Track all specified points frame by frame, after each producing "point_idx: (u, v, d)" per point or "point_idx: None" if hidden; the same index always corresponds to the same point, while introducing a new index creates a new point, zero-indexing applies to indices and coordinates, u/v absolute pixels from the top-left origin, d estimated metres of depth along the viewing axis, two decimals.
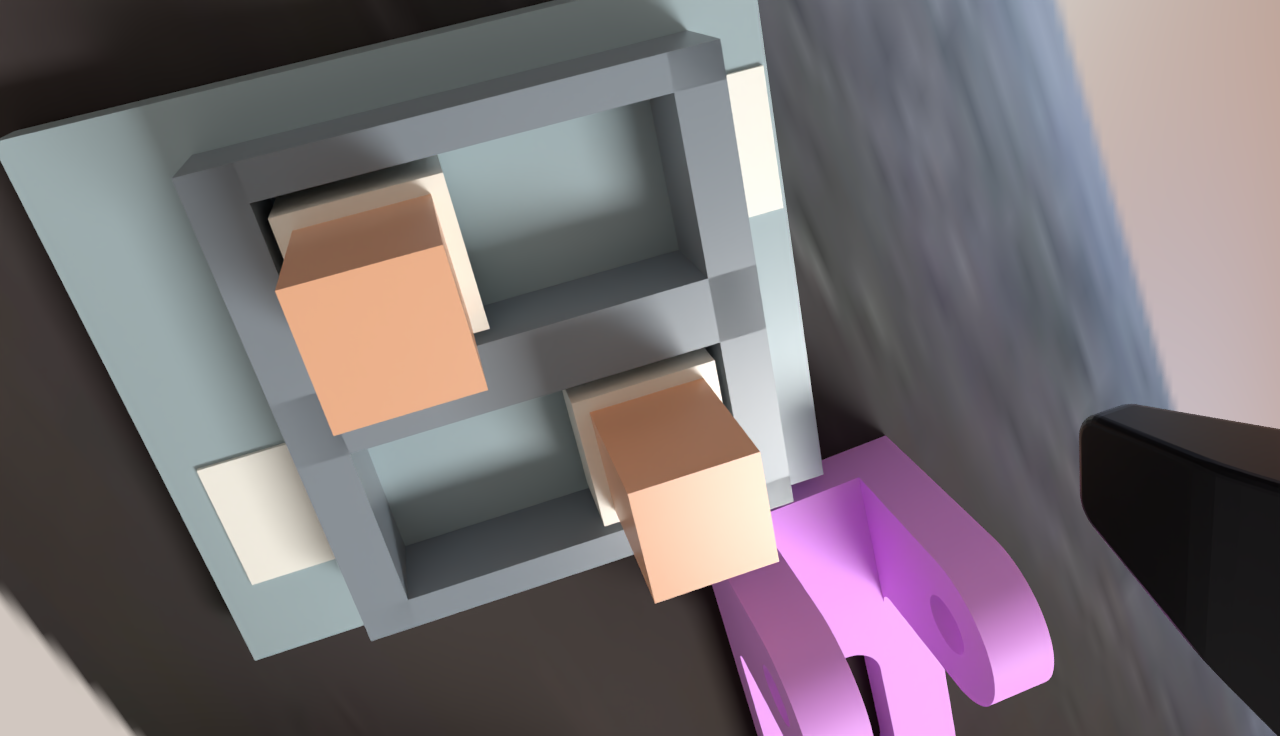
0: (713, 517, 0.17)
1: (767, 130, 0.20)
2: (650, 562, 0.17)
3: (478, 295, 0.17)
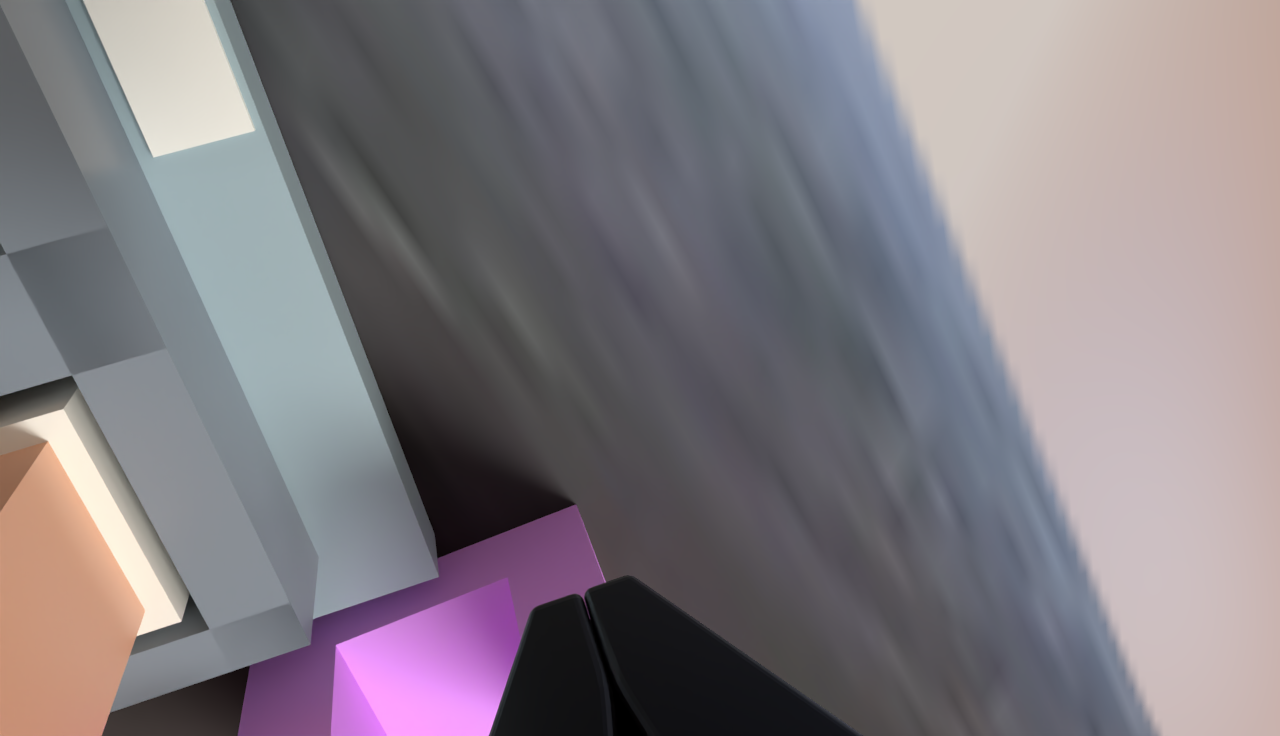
0: None
1: None
2: None
3: None
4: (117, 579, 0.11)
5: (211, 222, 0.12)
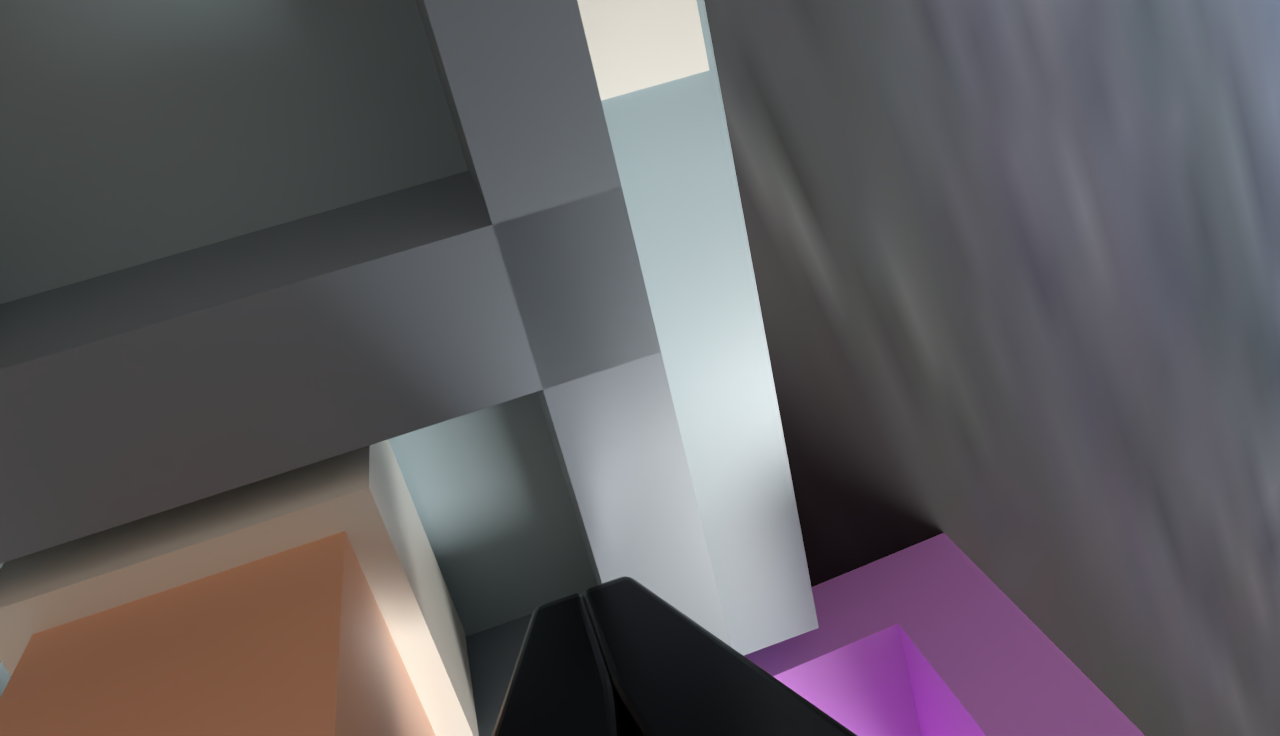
0: None
1: None
2: None
3: None
4: (418, 709, 0.08)
5: (636, 191, 0.09)
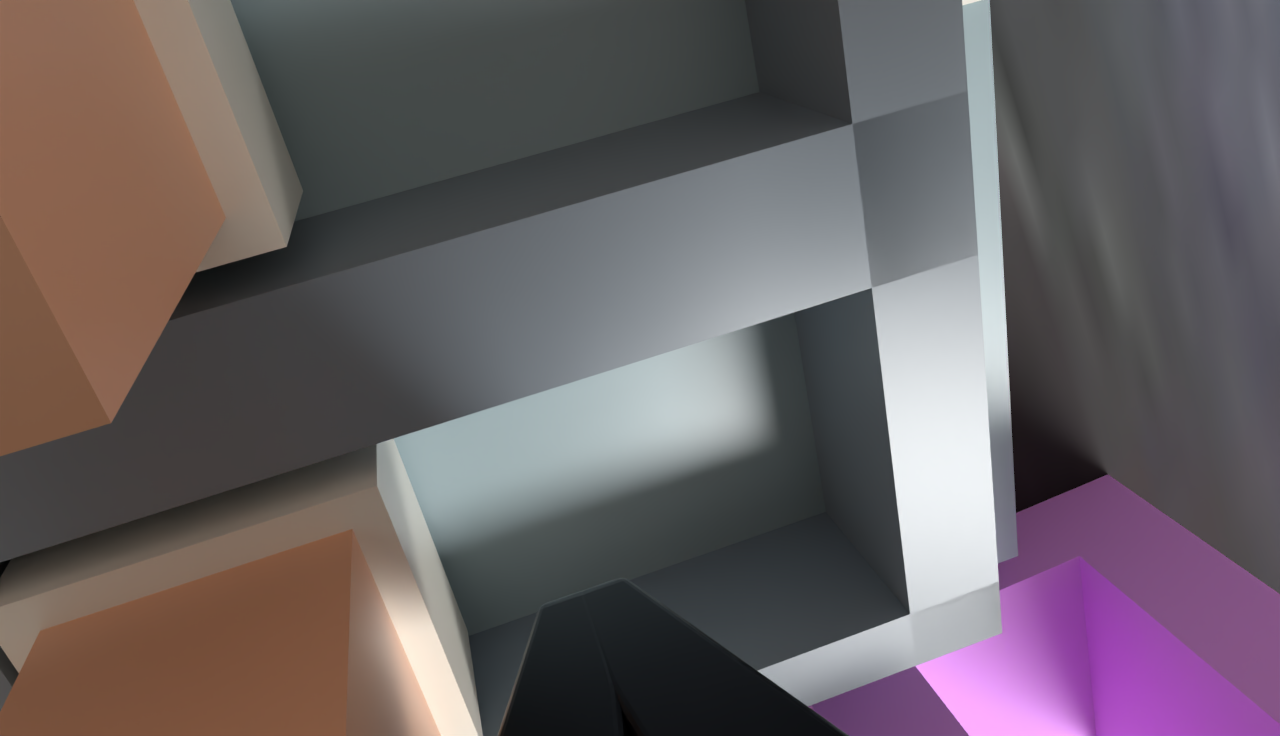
0: None
1: None
2: None
3: (243, 150, 0.06)
4: (423, 707, 0.08)
5: None
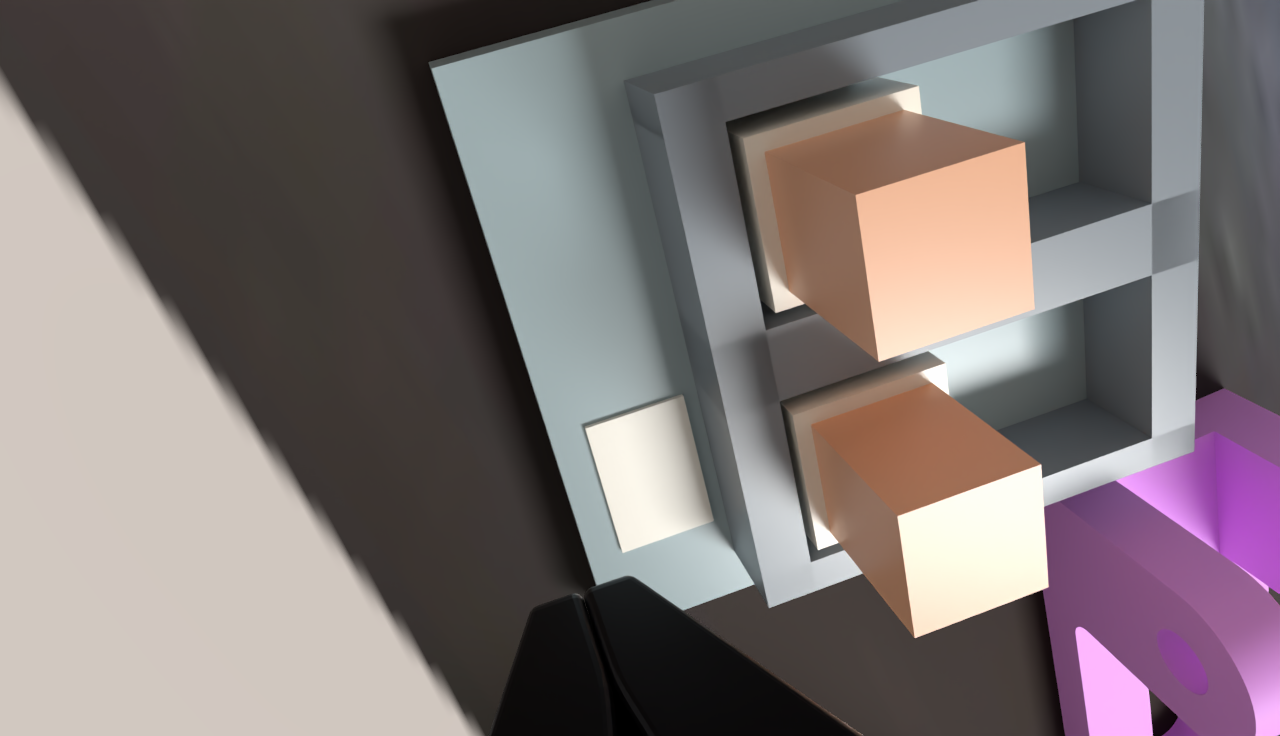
0: (984, 539, 0.15)
1: None
2: (913, 592, 0.15)
3: None
4: None
5: None
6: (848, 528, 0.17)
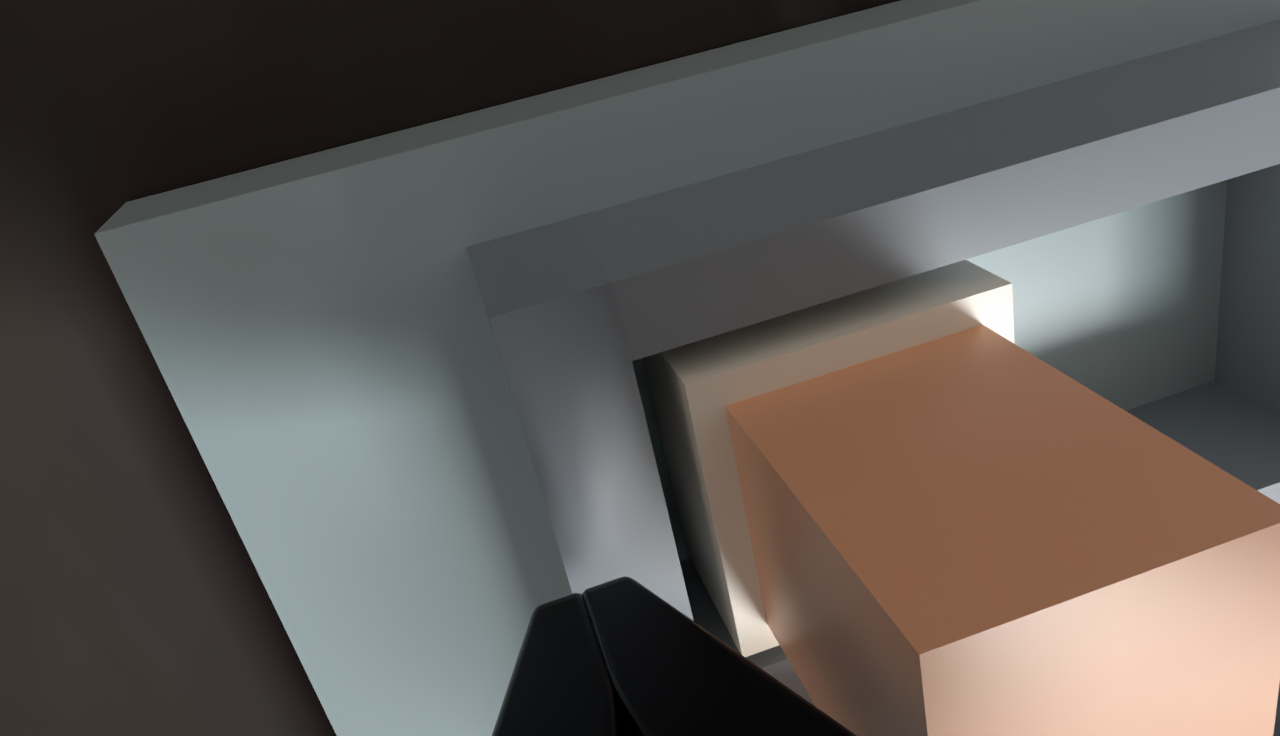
0: None
1: None
2: None
3: None
4: None
5: None
6: None
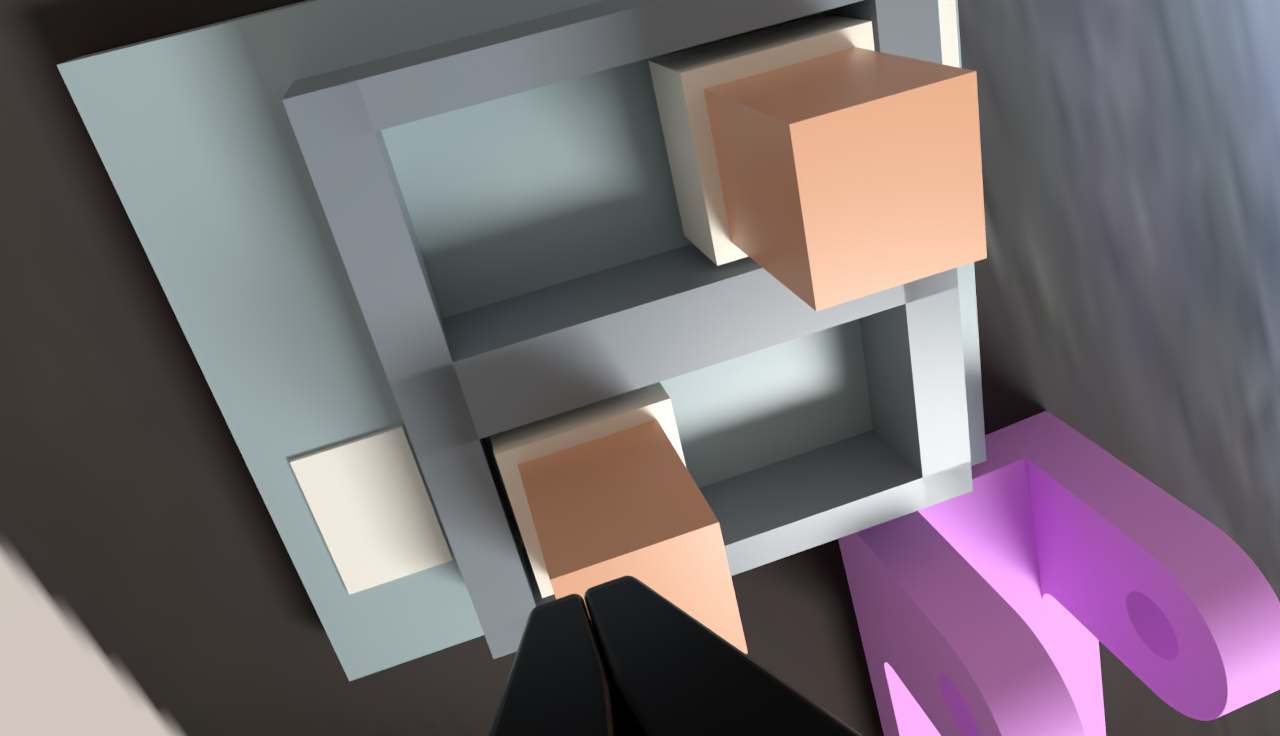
0: None
1: (952, 55, 0.17)
2: None
3: None
4: None
5: None
6: None
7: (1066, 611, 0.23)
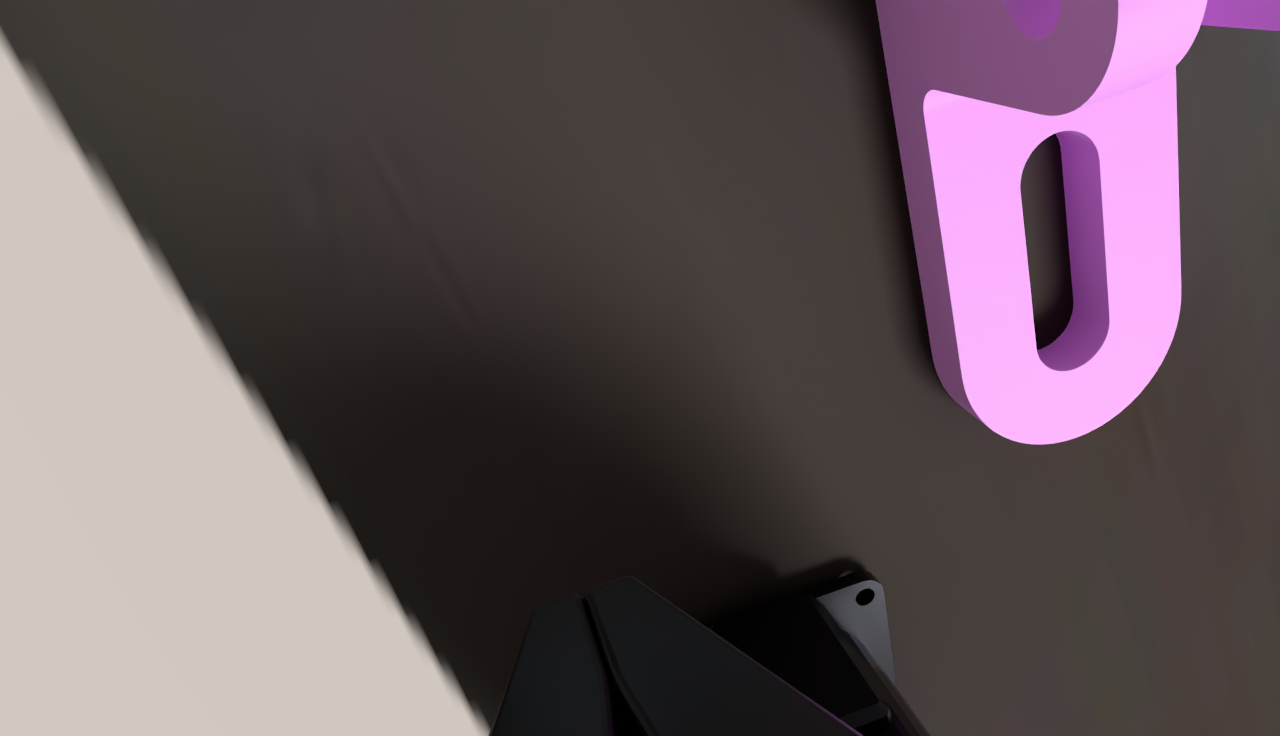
0: None
1: None
2: None
3: None
4: None
5: None
6: None
7: None
